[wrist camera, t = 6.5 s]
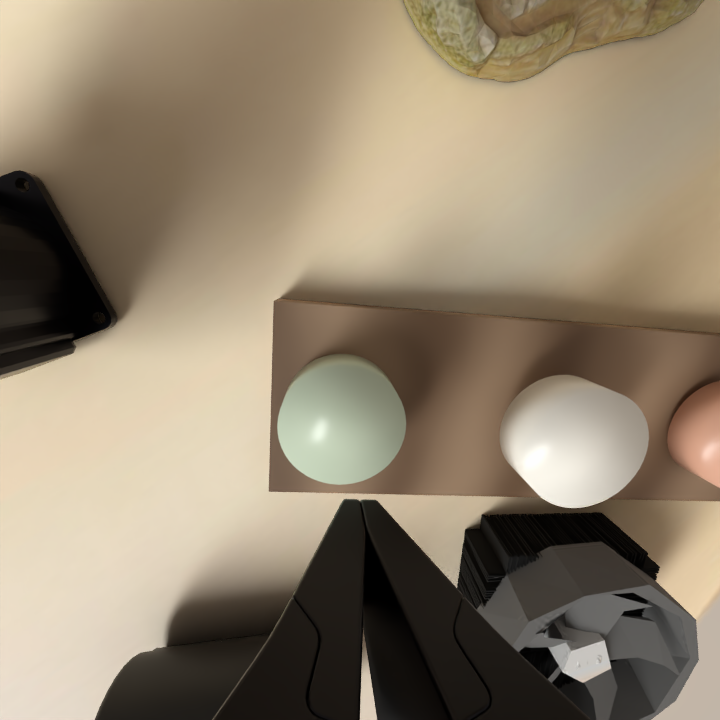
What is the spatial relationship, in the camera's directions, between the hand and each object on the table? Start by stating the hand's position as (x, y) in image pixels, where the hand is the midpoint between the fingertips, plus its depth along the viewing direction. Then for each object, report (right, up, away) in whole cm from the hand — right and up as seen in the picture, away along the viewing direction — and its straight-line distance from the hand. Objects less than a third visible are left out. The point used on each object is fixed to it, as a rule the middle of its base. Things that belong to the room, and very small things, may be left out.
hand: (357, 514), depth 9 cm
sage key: (-1, +2, +7) cm, 7 cm away
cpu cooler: (+10, -9, +13) cm, 19 cm away
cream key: (+9, +1, +6) cm, 11 cm away
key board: (+8, +2, +9) cm, 13 cm away
